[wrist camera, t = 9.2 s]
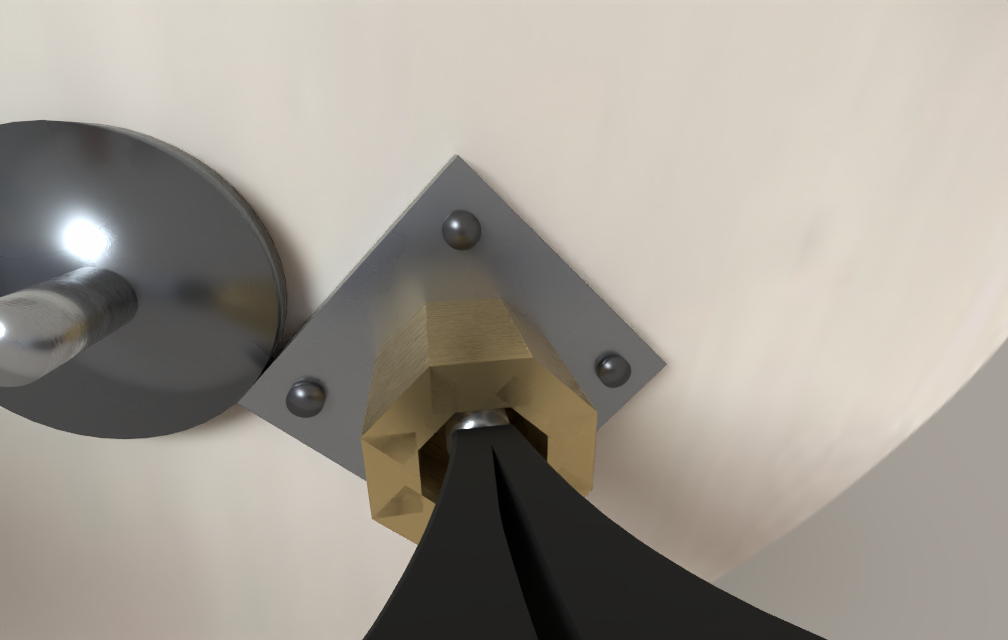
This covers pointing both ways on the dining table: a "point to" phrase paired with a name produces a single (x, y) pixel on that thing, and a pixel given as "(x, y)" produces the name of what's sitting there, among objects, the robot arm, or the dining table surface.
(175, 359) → the stand
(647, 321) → the dining table surface
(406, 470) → the brass collar
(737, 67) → the dining table surface
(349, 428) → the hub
